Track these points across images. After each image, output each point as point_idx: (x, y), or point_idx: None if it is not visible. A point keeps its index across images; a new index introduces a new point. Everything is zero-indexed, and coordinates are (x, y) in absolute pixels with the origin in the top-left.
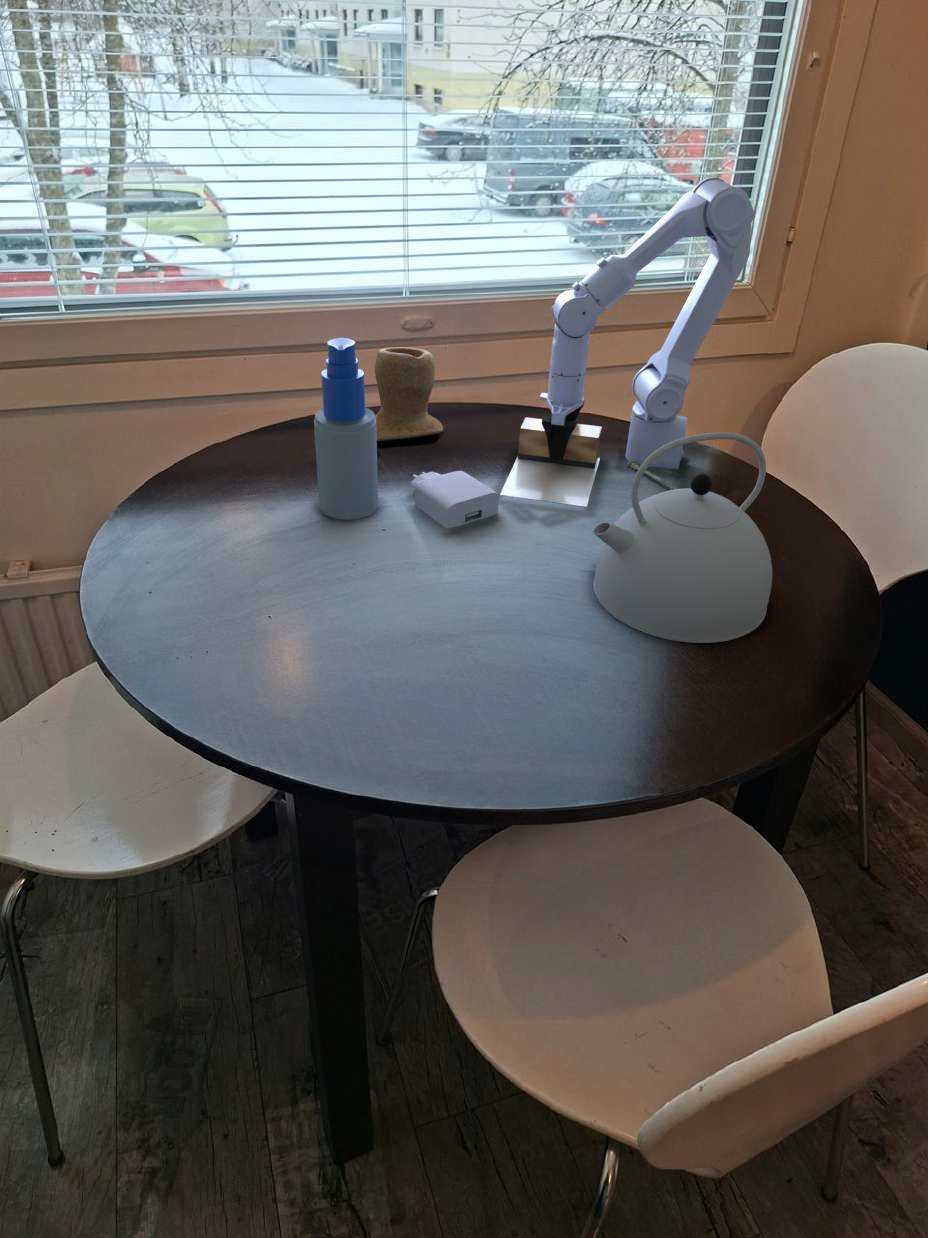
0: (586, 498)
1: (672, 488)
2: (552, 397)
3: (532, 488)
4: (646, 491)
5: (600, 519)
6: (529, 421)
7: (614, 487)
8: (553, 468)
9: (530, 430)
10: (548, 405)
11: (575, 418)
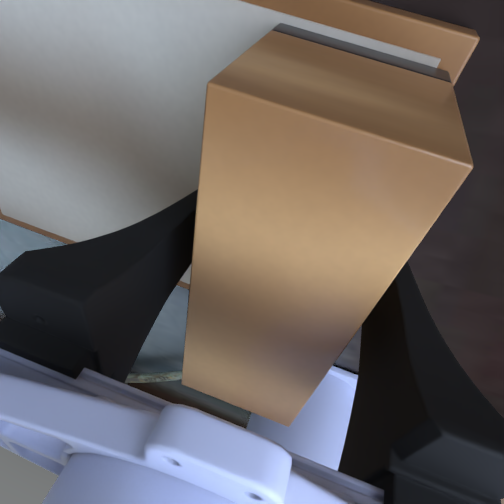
0: (42, 225)
1: (139, 376)
2: (65, 488)
3: (14, 72)
4: (170, 338)
5: (6, 225)
6: (357, 183)
7: (169, 296)
8: None
9: (201, 159)
10: (76, 399)
11: (354, 403)
